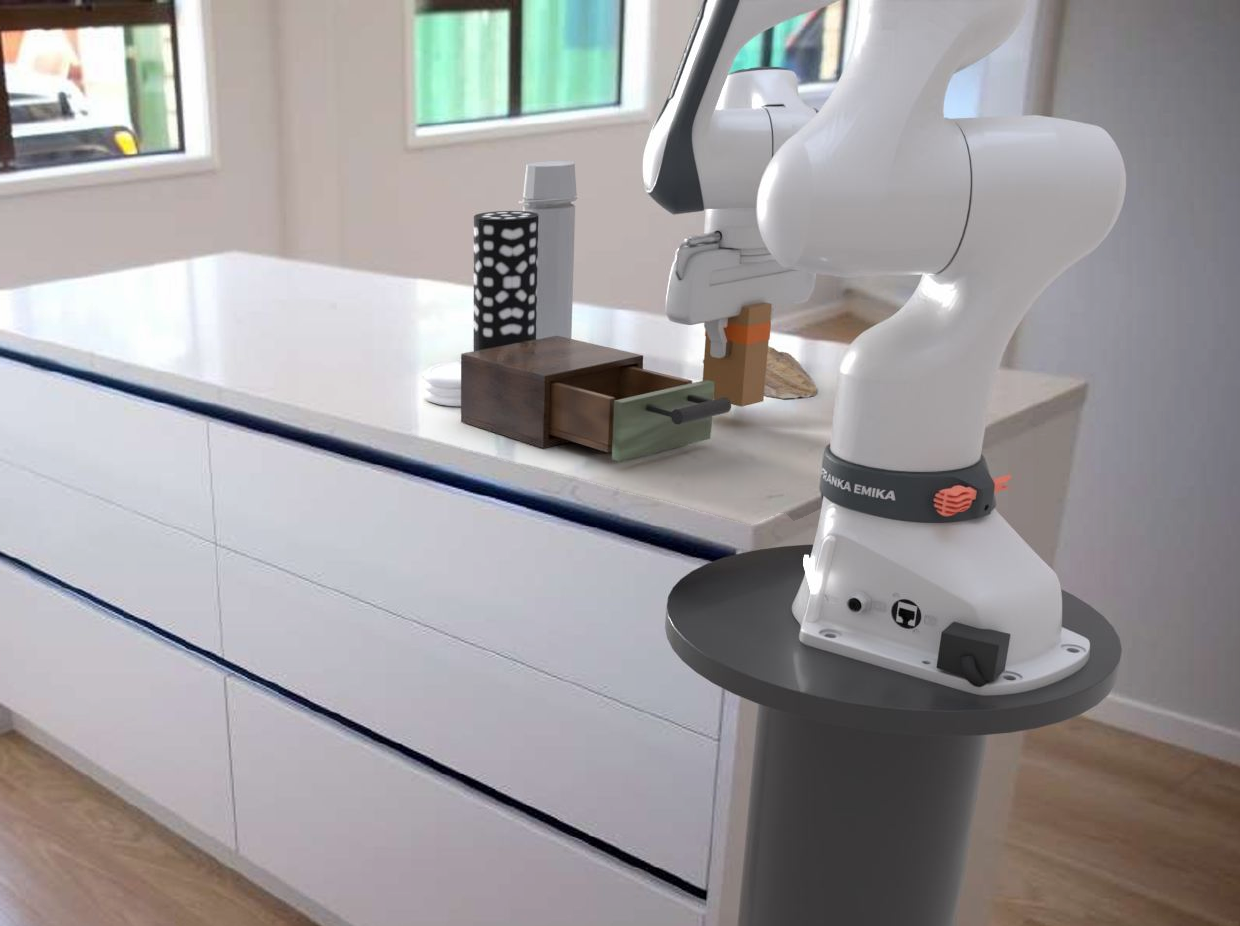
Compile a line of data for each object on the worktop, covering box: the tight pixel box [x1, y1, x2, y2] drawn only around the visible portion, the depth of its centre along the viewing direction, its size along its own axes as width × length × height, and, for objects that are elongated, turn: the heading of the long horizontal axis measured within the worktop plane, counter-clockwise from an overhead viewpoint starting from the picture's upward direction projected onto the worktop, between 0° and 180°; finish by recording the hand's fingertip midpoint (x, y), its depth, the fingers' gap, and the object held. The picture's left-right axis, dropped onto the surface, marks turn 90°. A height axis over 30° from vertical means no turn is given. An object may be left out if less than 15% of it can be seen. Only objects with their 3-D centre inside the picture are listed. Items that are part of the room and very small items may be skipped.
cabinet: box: [460, 336, 644, 449], centre depth 163 cm, size 15×15×8 cm
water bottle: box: [518, 160, 578, 339], centre depth 197 cm, size 9×8×25 cm
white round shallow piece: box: [423, 361, 461, 407], centre depth 176 cm, size 10×10×4 cm
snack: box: [702, 302, 772, 408], centre depth 159 cm, size 6×4×11 cm, turn 32°
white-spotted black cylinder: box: [473, 210, 539, 351], centre depth 187 cm, size 8×8×20 cm
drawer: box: [549, 365, 732, 463], centre depth 151 cm, size 19×13×6 cm
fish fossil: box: [703, 345, 819, 400], centre depth 181 cm, size 26×10×1 cm, turn 9°
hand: (736, 353), depth 159 cm, fingers closed on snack, 4 cm apart
